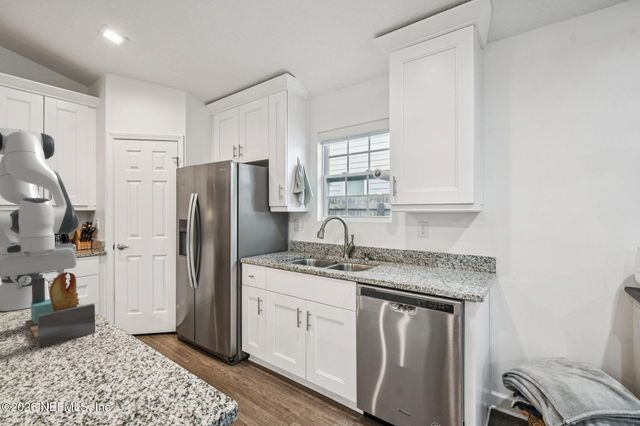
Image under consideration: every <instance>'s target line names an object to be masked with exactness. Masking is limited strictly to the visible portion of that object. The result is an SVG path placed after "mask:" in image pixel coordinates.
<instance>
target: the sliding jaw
mask: <svg viewBox="0 0 640 426" xmlns="http://www.w3.org/2000/svg"><path fill="white" fill-rule="evenodd" d="M50 312H54V310H53V307H52V303H51V300H50V299H46V300H45V277H42V278H34V279H32V302H31V307H30V313H31V314H30V316H31V319H30V320H32V321H33V323H34V324H35V325H36V324H38V315H40V314H45V313H50Z"/></svg>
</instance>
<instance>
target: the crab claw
mask: <svg viewBox="0 0 640 426" xmlns="http://www.w3.org/2000/svg"><path fill="white" fill-rule="evenodd" d="M67 275H69V278H70V279H69V280H68V282H69V284H68V283H67ZM57 276H58V275H57ZM57 276H56V277H57ZM56 277H55V278H56ZM48 291H49V296H50V300H51V303H52V307H53V310H54V311H59V310H64V309H69V308H73V307H78V305H79V301H80V298H79V295H78V292H77V278H76V275H75V274H74V273H72V272H68V271H67V272H65V271H64V273H62V274H61V275H59V276H58V277H57V278H56V279H55V280H54V279H53V281H52V283H50V288H49V290H48Z"/></svg>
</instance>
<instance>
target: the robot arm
mask: <svg viewBox="0 0 640 426" xmlns="http://www.w3.org/2000/svg"><path fill="white" fill-rule="evenodd" d="M56 149H57V145H56V142H55V139H54V138H53V137H52V136H51V135H49V134H46V133H43V132H42V133H41V132H40V133H39V132H35V131H30V130H27V129H26V130H25V129H17V128H16V129H15V128H7V127H5V128H4V127H0V155H1V156H2V157H1V158H0V196H1V198H2V199H3V200H5V201H6V202H9V203H11V204H14V205H17V206H18V207H19V208H17V209H9V210H7V209H4V210H3V209H0V280H1V281H0V282H1V284H0V312H8V311H9V312H10V311H11V312H12V311H18V310H24V309H29V308H30V309H31V302H32V279H34V278H44V273H45V272H53V271H57V273H58V274H57V276H56V277H53V281H54V280H55V279H56V278H57V277H58V276H59V275H61V274H62V273H65V270H67V269H74V268H76V266H77V258H76V257H77V256H76V253H77V251H78V250H77V246H76V244H73V243H71V242H66V243H56V242H55V241H56V240H55V238H56V236H55V234H56V235H70V233H72V232H74V231H75V230H77V228H78V227H79V225H80V222H79V221H80V220H79V216H78V214H77V212H76V210H75V208H74V206H73V204H72V202H71V199H70V197H69V194H68V192H67V189H66V187H65V184H64V182H63V179H62V178H61V176H60V174H59V173H58V172H57V171H55V170H53V169H52V168H51V167H49V165H48V164H47V162H46V160H48V159H50V158H51V157H53V156H54V154H55V152H56ZM38 187H40V188H43V189H45V190H47V191H48V192H49V193H50V194H51V196H52V199H53V201H54V204H55V207H53V202H52V200H50V199H48V198H45V197H43V198H42V197H41V196H40V193H39V188H38ZM49 291H50V290H49V282H48V281H47V280H45V300H46V299H50V294H49Z"/></svg>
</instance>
